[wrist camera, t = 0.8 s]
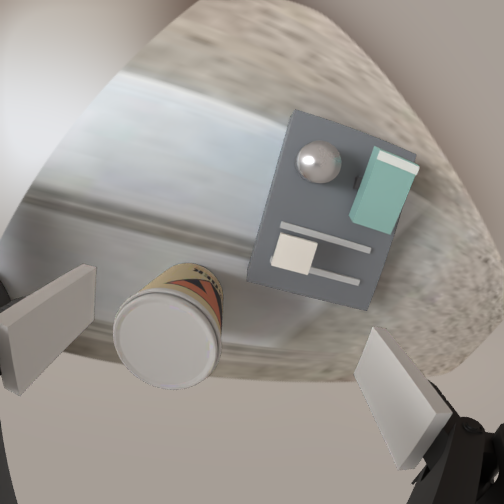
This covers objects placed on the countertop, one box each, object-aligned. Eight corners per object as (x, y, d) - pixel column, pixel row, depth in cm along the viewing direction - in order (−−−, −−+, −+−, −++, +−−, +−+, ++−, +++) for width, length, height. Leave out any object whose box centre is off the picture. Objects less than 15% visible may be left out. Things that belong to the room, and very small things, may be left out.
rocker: (348, 215, 29) (353, 223, 28) (374, 145, 26) (381, 149, 24) (384, 227, 30) (391, 235, 28) (411, 161, 26) (420, 166, 25)
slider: (269, 255, 30) (271, 265, 27) (277, 226, 30) (281, 233, 26) (301, 264, 31) (307, 275, 27) (310, 236, 30) (317, 243, 27)
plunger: (290, 176, 29) (294, 176, 26) (300, 139, 28) (305, 135, 25) (327, 187, 29) (334, 188, 26) (337, 151, 28) (346, 148, 25)
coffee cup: (246, 309, 36) (242, 368, 25) (179, 343, 38) (153, 405, 26) (202, 239, 35) (176, 270, 23) (135, 280, 36) (89, 323, 24)
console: (247, 269, 35) (246, 283, 31) (290, 117, 32) (296, 107, 27) (356, 297, 36) (369, 314, 31) (400, 156, 32) (419, 154, 28)
